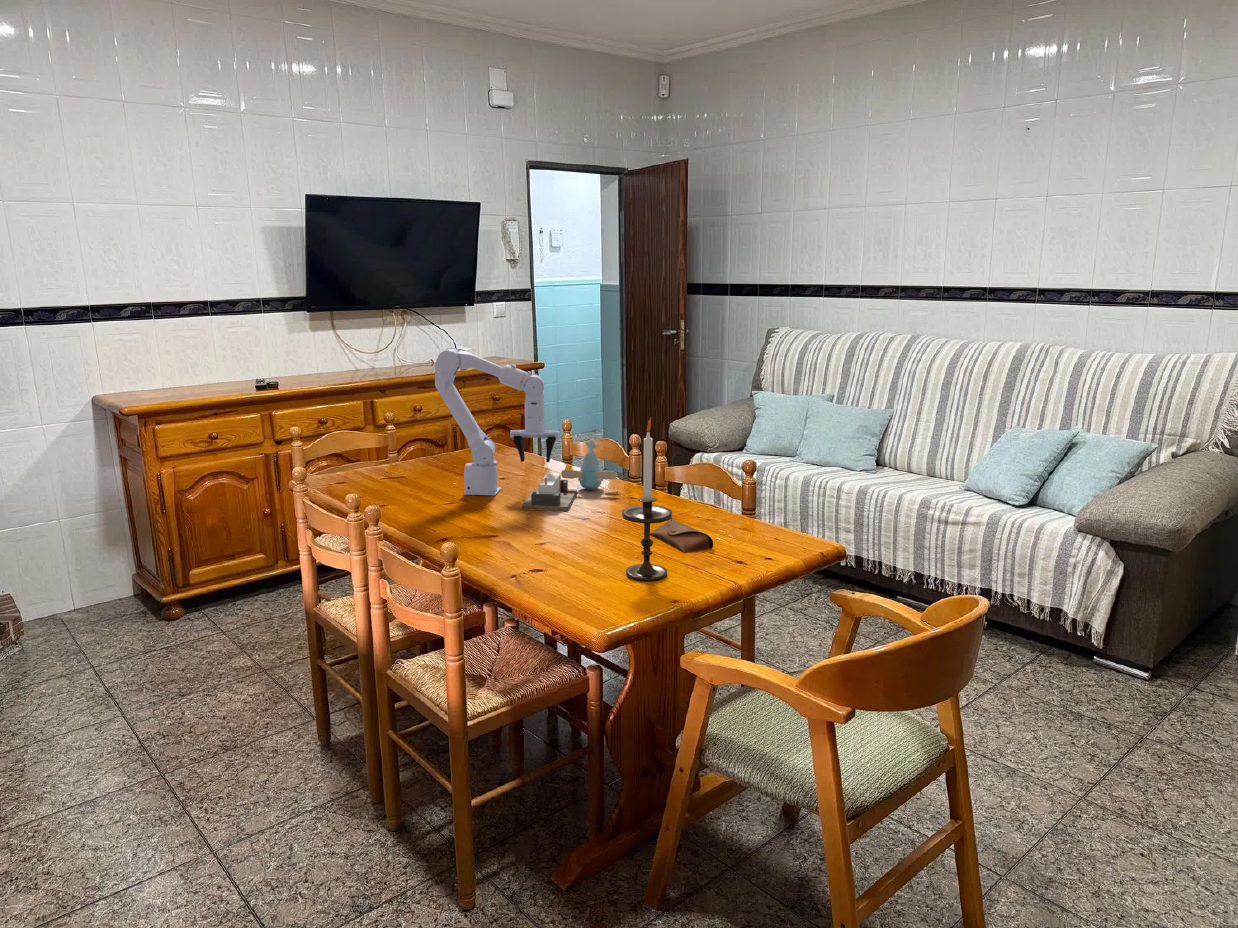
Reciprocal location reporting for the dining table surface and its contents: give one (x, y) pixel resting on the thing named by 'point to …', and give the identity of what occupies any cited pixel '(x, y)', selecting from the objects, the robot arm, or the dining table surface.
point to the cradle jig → (550, 499)
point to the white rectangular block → (550, 484)
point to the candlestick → (647, 520)
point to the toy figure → (590, 470)
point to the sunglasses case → (683, 537)
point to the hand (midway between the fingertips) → (535, 461)
